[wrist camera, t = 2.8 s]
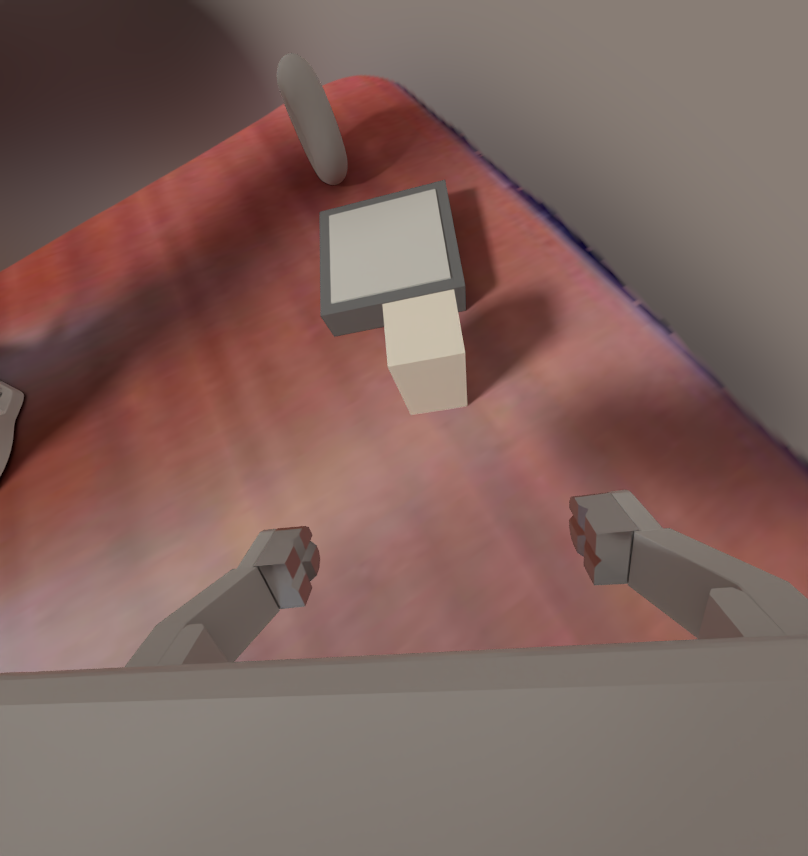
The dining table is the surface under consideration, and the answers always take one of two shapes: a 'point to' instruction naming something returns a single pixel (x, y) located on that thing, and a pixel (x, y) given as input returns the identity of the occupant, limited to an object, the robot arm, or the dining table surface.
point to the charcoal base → (386, 256)
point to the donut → (312, 118)
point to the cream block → (426, 351)
